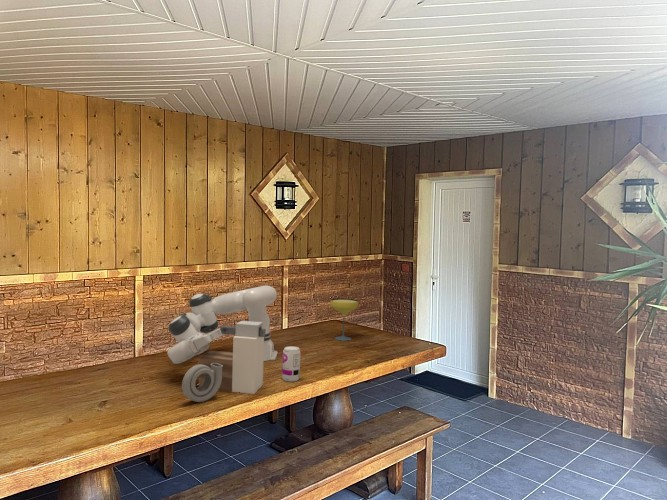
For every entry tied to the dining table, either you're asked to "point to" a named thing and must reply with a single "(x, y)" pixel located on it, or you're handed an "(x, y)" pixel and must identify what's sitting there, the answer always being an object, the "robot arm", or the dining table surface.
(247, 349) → the stand
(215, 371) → the turbocharger housing
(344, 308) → the cocktail glass
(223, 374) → the step
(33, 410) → the dining table surface
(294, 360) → the supplement can
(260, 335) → the metal bar
